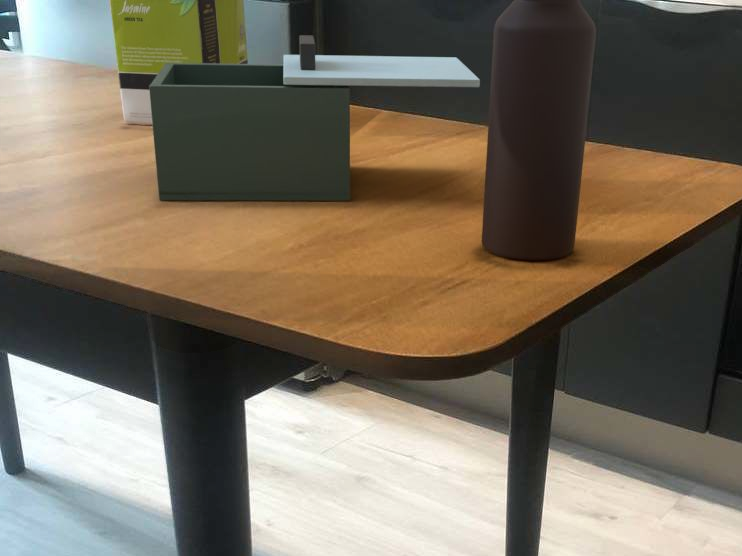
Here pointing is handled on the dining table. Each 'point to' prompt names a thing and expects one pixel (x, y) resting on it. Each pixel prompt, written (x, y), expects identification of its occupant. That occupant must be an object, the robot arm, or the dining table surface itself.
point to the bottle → (537, 128)
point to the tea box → (171, 42)
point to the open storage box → (248, 135)
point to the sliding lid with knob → (373, 70)
